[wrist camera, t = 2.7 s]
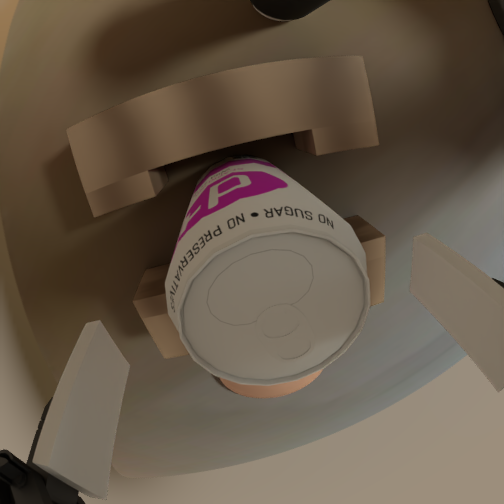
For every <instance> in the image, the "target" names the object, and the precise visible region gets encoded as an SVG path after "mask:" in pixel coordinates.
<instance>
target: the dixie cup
mask: <svg viewBox="0 0 504 504" xmlns="http://www.w3.org/2000/svg"><path fill="white" fill-rule="evenodd" d="M250 1H251V3H252V5H253V6H254V8H255V9H256V10H257V11H258V12H259V13H260V14H262V15H263V16H265V17H267V18H269V19H272V20H277V21H291V20H295V19H299V18H302V17H304V16H306V15H308V14H309V13H311V12H312V11H314V10H316V9H317V8H319V7H320V6H322V5H324V4H325V3H327V2H328V1H330V0H250Z"/></svg>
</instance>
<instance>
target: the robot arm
mask: <svg viewBox="0 0 504 504" xmlns="http://www.w3.org/2000/svg"><path fill="white" fill-rule="evenodd" d="M489 3H490V6H491V9H492V11H493V13H494V16H495V18H496V20H497V22H498V24H499V26H500V28H501V30H502V32H503V34H504V0H489ZM410 292H411V293H412V294H413V295H414V296H415V297H416V298H417V299H418V300H419V301H420V302H421V303H422V304H423V305H424V306H425V308H426V309H427V310H428V311H429V312H430V313H431V314H432V315H433V316H434V317H435V318H436V319H437V320H438V321H439V322H440V324H441V325H442V326H443V327H444V328H445V329H446V330H447V331H448V332H449V333H450V335H451V336H452V337H453V338H454V339H455V340H456V341H457V343H458V344H459V345H460V346H461V347H462V348H463V349H464V351H465V352H466V353H467V354H468V355H469V357H470V358H471V359H472V360H473V361H474V362H475V364H476V365H477V366H478V367H479V369H480V370H481V371H482V372H483V373H484V375H485V376H486V377H487V379H488V380H489V381H490V382H491V384H492V385H493V386H494V387H495V389H496V390H497V391H498V392H499V391H501V390H502V389H503V388H504V283H503V282H501V281H499V280H496V279H494V278H492V279H491V278H490V277H489V276H487V275H486V274H485V273H484V272H482V271H481V270H480V269H478V268H477V267H476V266H474V265H473V264H471V263H470V262H469V261H467V260H466V259H465V258H463V257H462V256H460V255H459V254H458V253H456V252H455V251H453V250H452V249H450V248H449V247H447V246H446V245H444V244H443V243H442V242H440V241H439V240H437V239H436V238H434V237H432V236H431V235H429V234H428V233H424V234H421V235H418V236H415V237H413V256H412V270H411V282H410ZM129 369H130V365H129V363H128V362H127V361H126V359H125V358H124V356H123V355H122V353H121V352H120V350H119V349H118V347H117V346H116V344H115V343H114V341H113V340H112V338H111V337H110V335H109V334H108V332H107V330H106V329H105V327H104V326H103V324H102V322H101V321H100V320H98V321H93V322H89V323H86V324H85V326H84V328H83V330H82V332H81V335H80V337H79V339H78V341H77V343H76V345H75V347H74V349H73V352H72V354H71V356H70V358H69V360H68V363H67V365H66V367H65V370H64V372H63V374H62V377H61V379H60V382H59V384H58V386H57V389H56V392H55V394H54V397H52V398H51V400H50V401H49V402H48V404H47V405H46V406H45V408H44V411H43V414H42V417H41V421H40V423H39V425H38V430H37V431H36V434H35V438H34V440H33V444H32V447H31V451H30V454H29V457H28V460H27V463H26V464H25V463H24V462H23V461H21V460H20V459H18V458H17V457H16V456H14V455H13V454H12V453H11V452H9V451H8V450H1V451H0V504H85V502H84V501H83V500H82V498H81V497H79V496H78V492H79V491H80V492H81V493H83V494H85V495H87V496H89V497H93V498H98V499H104V500H107V492H108V483H109V475H110V467H111V461H112V454H113V447H114V441H115V436H116V430H117V424H118V419H119V414H120V409H121V404H122V399H123V395H124V390H125V386H126V381H127V377H128V373H129Z"/></svg>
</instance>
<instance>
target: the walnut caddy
mask: <svg viewBox="0 0 504 504" xmlns="http://www.w3.org/2000/svg"><path fill="white" fill-rule="evenodd" d="M66 132H67V135H68V139H69V143H70V146H71V150H72V153H73V157H74V160H75V164H76V167H77V170H78V173H79V176H80V179H81V182H82V185H83V188H84V191H85V194H86V197H87V199H88V202H89V205H90V208H91V210H92V213H93V216H94V218H95V217H98V216H100V215H103V214H106V213H108V212H111V211H114V210H117V209H120V208H122V207H125V206H128V205H131V204H134V203H137V202H140V201H143V200H146V199H149V198H152V197H155V196H156V195H157V194H158V193H159V192H160V191H161V189H162V188H163V187H164V186H165V185H166V183H167V182H168V178H167V174H166V171H165V168H164V165H166V164H169V163H172V162H175V161H179V160H182V159H185V158H189V157H192V156H195V155H199V154H202V153H206V152H210V151H213V150H217V149H221V148H225V147H229V146H233V145H237V144H241V143H245V142H250V141H254V140H258V139H263V138H268V137H273V136H277V135H283V134H288V133H293V135H294V140H295V145H296V149H299V150H302V151H305V152H308V153H311V154H314V155H316V156H317V155H323V154H328V153H334V152H340V151H346V150H352V149H358V148H365V147H372V146H379V141H378V134H377V127H376V121H375V114H374V109H373V103H372V98H371V92H370V88H369V83H368V78H367V74H366V69H365V65H364V61H363V57H362V56H328V57H313V58H301V59H292V60H283V61H276V62H269V63H262V64H256V65H251V66H245V67H240V68H235V69H230V70H226V71H221V72H217V73H213V74H209V75H205V76H201V77H197V78H194V79H190V80H187V81H183V82H180V83H176V84H173V85H170V86H167V87H164V88H161V89H158V90H155V91H152V92H149V93H147V94H144V95H141V96H139V97H136V98H133V99H131V100H128V101H126V102H123V103H121V104H118V105H116V106H114V107H111V108H109V109H107V110H105V111H102V112H100V113H98V114H96V115H94V116H92V117H90V118H88V119H85V120H83V121H81V122H79V123H77V124H76V125H74V126H72V127H70V128H68V129H66ZM344 220H345V221H346V222H347V223H349V224H350V225H351V227H352V229H353V230H354V232H355V234H356V236H357V238H358V240H359V242H360V243H361V245H362V247H363V249H364V251H365V254H366V266H367V276H368V278H369V283H370V306H373V305H376V304H379V303H382V302H384V287H385V236H384V235H383V234H382V233H381V232H379V231H378V230H377V229H375V228H374V227H373V226H372V225H370V224H369V223H368V222H366V221H365V220H364V219H362V218H361V217H360V216H358V215H357V216H353V217H349V218H345V219H344ZM169 267H170V263H169V264H165V265H162V266H158V267H154V268H150V269H147V270H145V272H144V274H143V276H142V279H141V281H140V284H139V286H138V288H137V291H136V293H135V296H134V298H133V301H132V302H133V304H134V306H135V308H136V309H137V311H138V313H139V315H140V317H141V319H142V321H143V322H144V324H145V326H146V328H147V329H148V331H149V333H150V335H151V336H152V338H153V340H154V342H155V343H156V345H157V347H158V348H159V350H160V352H161V353H162V355H163V357H164V358H165V359H167V358H173V357H178V356H184V355H189V352H188V351H187V349H186V347H185V346H184V344H183V343H182V341H181V339H180V335H179V332H178V330H177V328H176V327H175V325H174V323H173V322H172V320H171V318H170V316H169V315H168V308H167V300H166V290H165V281H166V277H167V274H168V270H169Z"/></svg>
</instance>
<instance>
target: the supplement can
mask: <svg viewBox="0 0 504 504" xmlns="http://www.w3.org/2000/svg"><path fill="white" fill-rule="evenodd" d="M165 290H166V300H167V308H168V315H169V316H170V318H171V320H172V322H173V323H174V325H175V327H176V328H177V330H178V332H179V335H180V339H181V341H182V343H183V344H184V346H185V347H186V349H187V351H188V352H189V354H190V355H191V357H192V359H193V360H194V361H195V362H197V363H198V364H199V365H201V366H202V367H203V368H205V369H206V370H207V371H209V372H210V373H212V374H213V375H214V376H217V377H220V378H223V379H226V380H229V381H232V382H235V383H238V384H243V385H261V386H271V385H276V384H282V383H287V382H292V381H297V380H299V379H302V378H304V377H306V376H309V375H311V374H313V373H315V372H318V371H320V370H322V369H324V368H325V367H326V366H328V365H329V364H330V363H332V362H333V361H334V360H336V359H337V358H338V357H340V356H341V355H342V354H343V353H345V352H346V350H347V349H348V348H349V347H350V345H351V344H352V343H353V341H354V340H355V339H356V337H357V336H358V335H359V333H360V332H361V331H362V328H363V326H364V323H365V320H366V317H367V314H368V311H369V308H370V283H369V278H368V276H367V266H366V254H365V251H364V249H363V247H362V245H361V243H360V242H359V240H358V238H357V236H356V234H355V232H354V230H353V229H352V227H351V225H350V224H349V223H347V222H346V221H345V220H344V219H343V218H341V217H340V216H339V215H338V214H337V213H335V212H334V211H333V210H332V209H330V208H329V207H328V206H327V205H326V204H324V203H323V202H322V201H321V200H319V199H318V198H317V197H316V196H314V195H313V194H312V193H310V192H309V191H308V190H307V189H305V188H304V187H303V186H301V185H300V184H299V183H298V182H296V181H295V180H294V179H292V178H291V177H290V176H288V175H287V174H286V173H284V172H283V171H282V170H280V169H279V168H277V167H276V166H274V165H273V164H271V163H270V162H268V161H267V160H265V159H262V158H258V157H254V156H249V155H241V156H234V157H227V158H225V159H223V160H221V161H220V162H218V163H216V164H214V165H212V166H211V167H210V168H209V169H208V170H207V171H206V172H205V173H204V174H203V175H202V176H201V178H200V179H199V180H198V182H197V185H196V187H195V190H194V193H193V195H192V198H191V201H190V204H189V207H188V210H187V213H186V216H185V219H184V222H183V225H182V228H181V231H180V234H179V237H178V240H177V244H176V247H175V250H174V253H173V257H172V260H171V263H170V267H169V270H168V274H167V277H166V281H165Z"/></svg>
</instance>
